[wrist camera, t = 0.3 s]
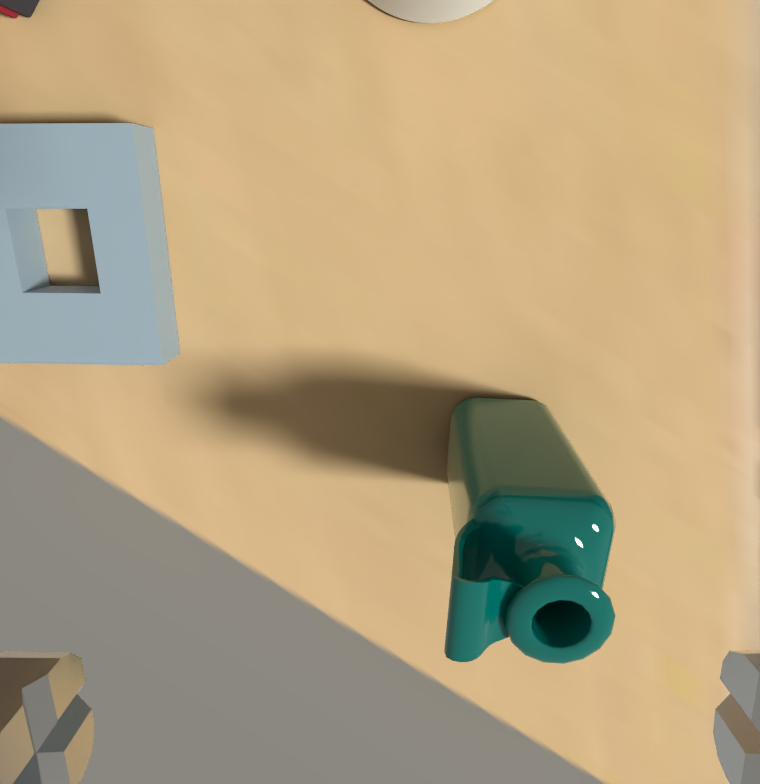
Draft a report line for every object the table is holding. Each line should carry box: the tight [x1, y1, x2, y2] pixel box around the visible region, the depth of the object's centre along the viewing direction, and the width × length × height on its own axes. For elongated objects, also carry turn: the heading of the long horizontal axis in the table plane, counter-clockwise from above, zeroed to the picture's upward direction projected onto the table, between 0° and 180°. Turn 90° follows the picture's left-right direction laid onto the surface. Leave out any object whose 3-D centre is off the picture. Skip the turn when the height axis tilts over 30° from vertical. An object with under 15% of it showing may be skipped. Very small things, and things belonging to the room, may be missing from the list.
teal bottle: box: [445, 397, 616, 664], centre depth 38 cm, size 10×8×22 cm
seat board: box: [0, 123, 180, 365], centre depth 43 cm, size 17×14×4 cm
